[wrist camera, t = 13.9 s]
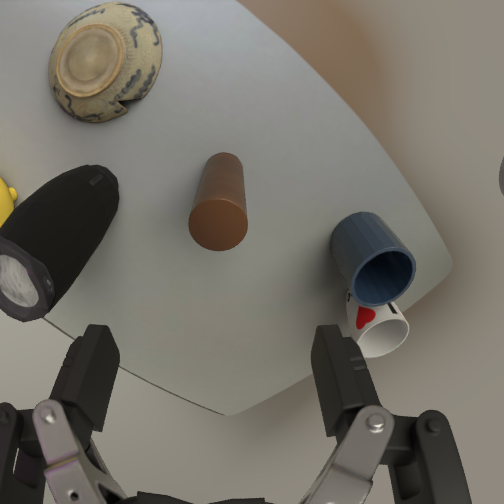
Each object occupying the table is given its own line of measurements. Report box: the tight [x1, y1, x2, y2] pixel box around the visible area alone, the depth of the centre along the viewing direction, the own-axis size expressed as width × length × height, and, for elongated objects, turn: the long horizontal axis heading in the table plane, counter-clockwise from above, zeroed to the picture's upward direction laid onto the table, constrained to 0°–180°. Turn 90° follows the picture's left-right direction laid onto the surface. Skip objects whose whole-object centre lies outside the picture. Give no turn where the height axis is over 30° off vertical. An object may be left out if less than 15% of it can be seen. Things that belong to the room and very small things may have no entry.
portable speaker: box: [0, 165, 119, 322], centre depth 26 cm, size 9×9×20 cm
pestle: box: [188, 153, 248, 251], centre depth 28 cm, size 4×4×14 cm
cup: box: [346, 290, 409, 358], centre depth 41 cm, size 8×8×10 cm
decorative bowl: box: [49, 2, 162, 123], centre depth 24 cm, size 15×4×15 cm
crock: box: [330, 212, 416, 307], centre depth 36 cm, size 9×9×9 cm
